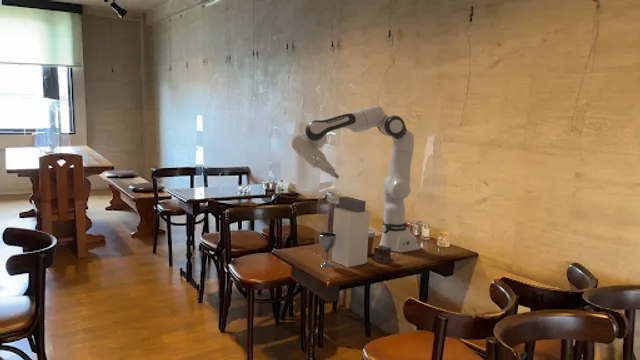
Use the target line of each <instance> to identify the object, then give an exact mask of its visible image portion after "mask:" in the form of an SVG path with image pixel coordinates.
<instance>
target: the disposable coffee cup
mask: <svg viewBox="0 0 640 360" xmlns="http://www.w3.org/2000/svg"><path fill="white" fill-rule="evenodd" d="M375 235H376V233H375V231H374V230H372V229H369V231H368V248H367V256H370V255H371V256H372V250H373V245H374V239H375Z"/></svg>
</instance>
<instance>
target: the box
mask: <svg viewBox="0 0 640 360" xmlns="http://www.w3.org/2000/svg"><path fill="white" fill-rule="evenodd" d="M379 245H380V244H379ZM379 245H378V246H374V248H373V262H375V263H379V264H382V265H385V264H387V263H390V262H391V255H392V254H391V253H392V251H391V248H390V247H386V246H383V245H380V246H379Z"/></svg>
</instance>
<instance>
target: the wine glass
mask: <svg viewBox="0 0 640 360" xmlns="http://www.w3.org/2000/svg"><path fill="white" fill-rule="evenodd" d="M318 237H319V245H320V247H321V248H322V249H323V251H324V253H325V262H320V263H319V264H318V265H319V266H320V267H323V268H333V267H334V266H335V264H334V263H331V262H328V260H329V259H328V257H329V253H330V251H332V248H333V247H334V245H335V242H336V234H335V233H333V232H330V231H325V232H324V231H323V232H319V235H318ZM333 264H334V265H333Z"/></svg>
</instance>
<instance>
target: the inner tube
mask: <svg viewBox="0 0 640 360" xmlns="http://www.w3.org/2000/svg"><path fill="white" fill-rule="evenodd" d="M339 197H340V196H335V195H330V194H326V195H325V197H324V200H325V201H326V202H330V203H333V204H337V205H339Z"/></svg>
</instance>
